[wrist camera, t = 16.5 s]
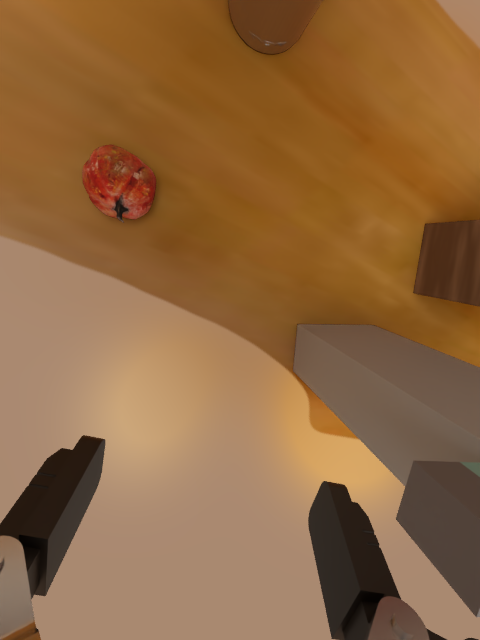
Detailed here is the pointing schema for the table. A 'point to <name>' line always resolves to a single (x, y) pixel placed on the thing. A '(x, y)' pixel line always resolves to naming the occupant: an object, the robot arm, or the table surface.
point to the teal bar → (446, 522)
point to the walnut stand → (450, 262)
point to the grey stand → (393, 393)
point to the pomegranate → (119, 182)
